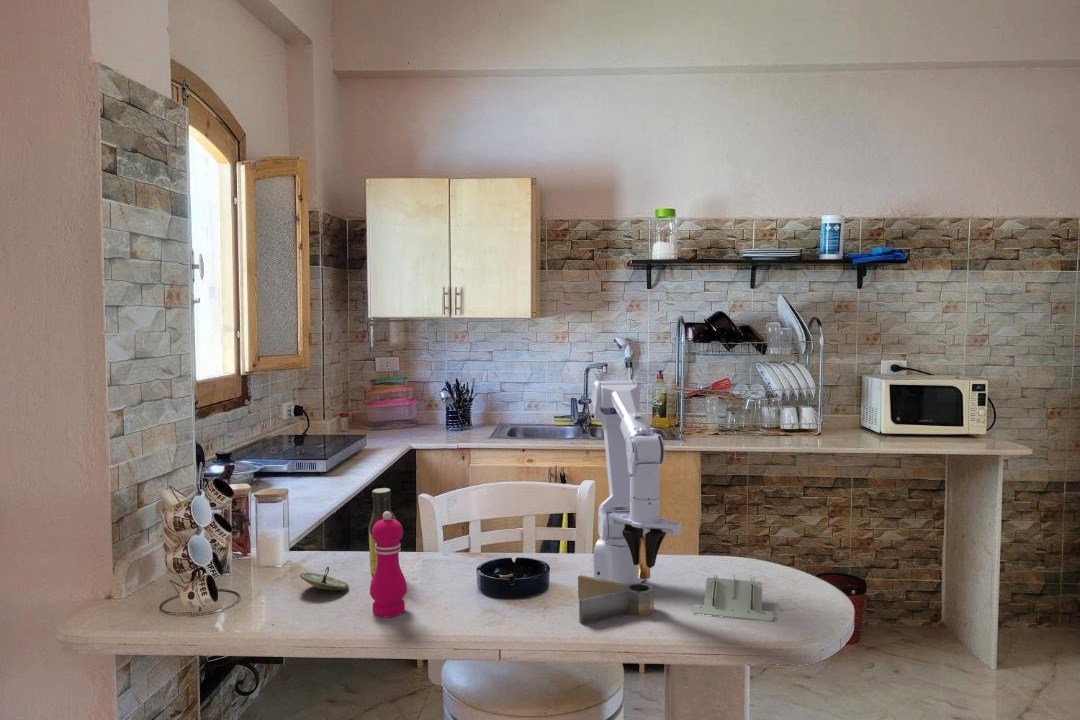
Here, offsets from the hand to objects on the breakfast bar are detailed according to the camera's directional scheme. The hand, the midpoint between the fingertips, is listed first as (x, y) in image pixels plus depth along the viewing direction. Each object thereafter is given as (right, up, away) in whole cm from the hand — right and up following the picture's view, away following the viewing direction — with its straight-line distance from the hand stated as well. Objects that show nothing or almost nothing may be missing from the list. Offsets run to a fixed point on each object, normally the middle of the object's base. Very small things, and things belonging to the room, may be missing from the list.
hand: (644, 565), depth 157 cm
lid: (-66, -9, +13) cm, 68 cm away
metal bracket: (+18, -10, +3) cm, 21 cm away
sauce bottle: (-55, -8, +20) cm, 59 cm away
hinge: (-8, -9, 0) cm, 12 cm away
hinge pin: (0, -2, 0) cm, 2 cm away
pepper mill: (-50, -10, +1) cm, 51 cm away
